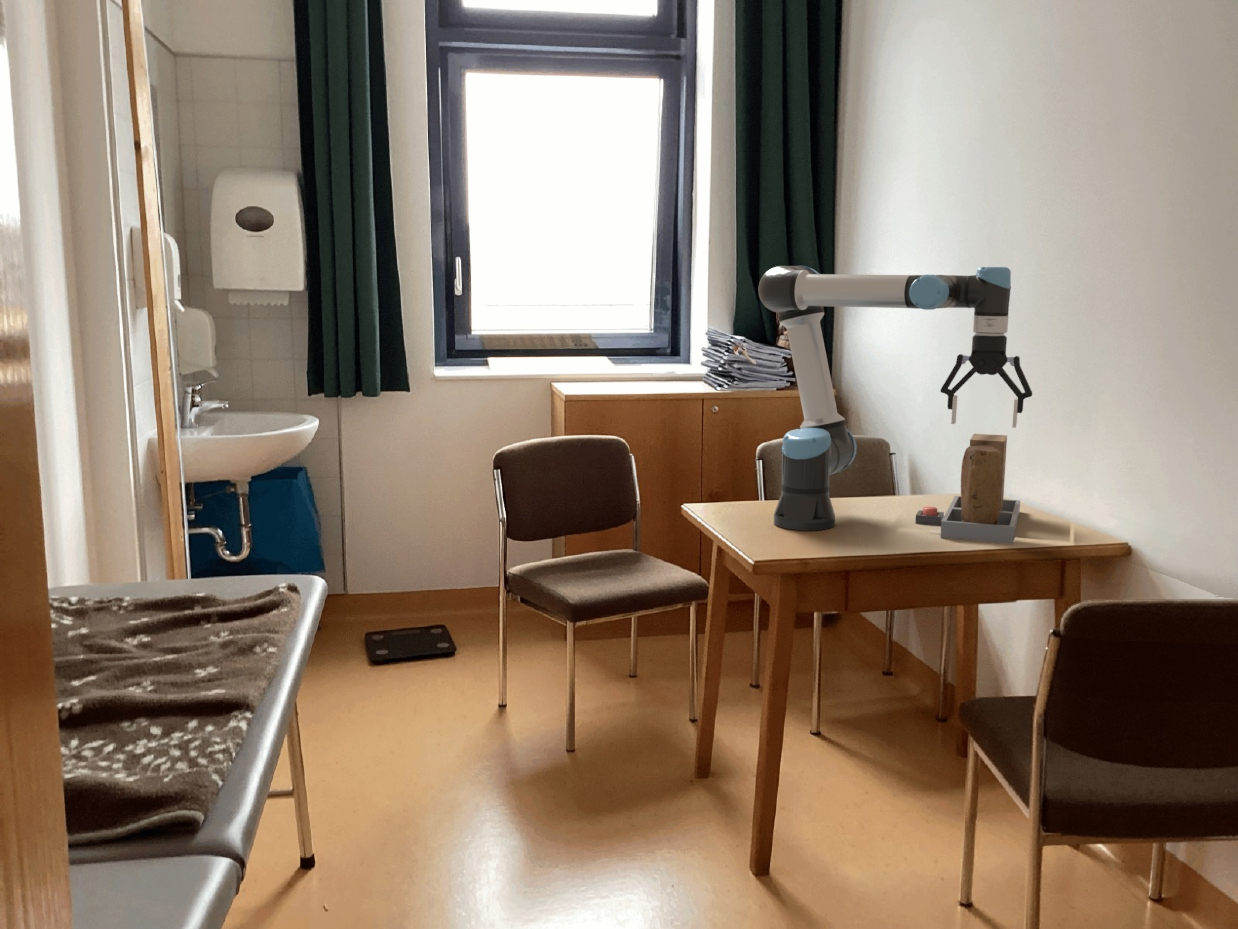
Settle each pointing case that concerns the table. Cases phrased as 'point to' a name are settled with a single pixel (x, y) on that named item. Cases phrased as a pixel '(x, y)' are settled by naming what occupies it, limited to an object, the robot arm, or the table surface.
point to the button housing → (929, 518)
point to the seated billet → (1000, 444)
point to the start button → (930, 511)
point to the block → (981, 485)
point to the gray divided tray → (981, 532)
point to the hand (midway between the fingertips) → (983, 425)
